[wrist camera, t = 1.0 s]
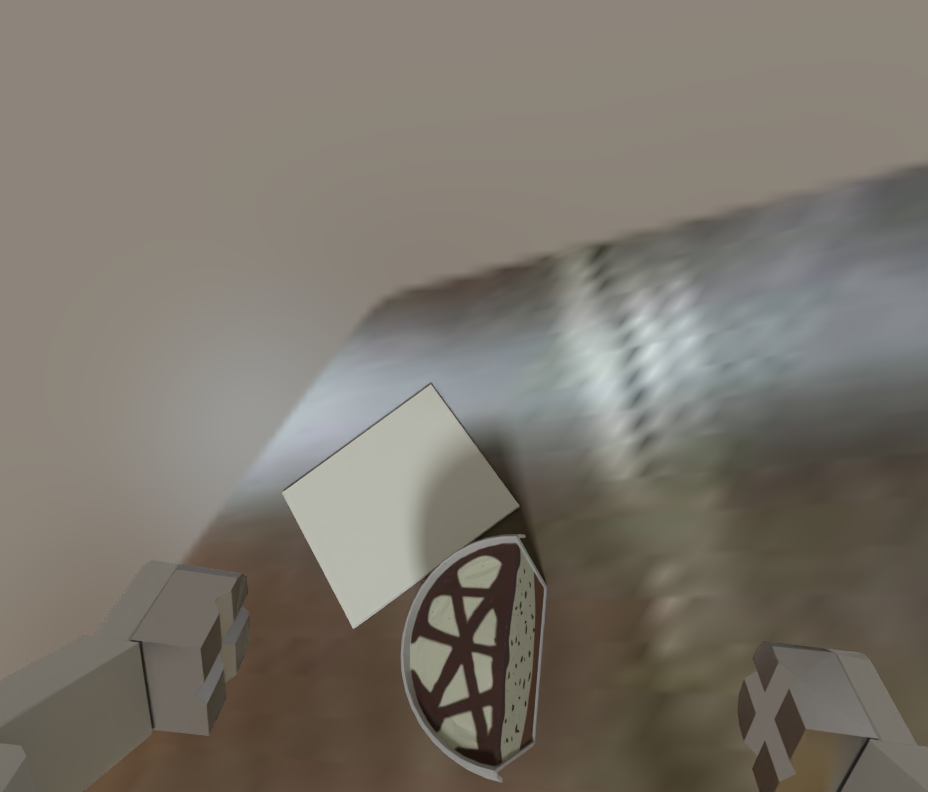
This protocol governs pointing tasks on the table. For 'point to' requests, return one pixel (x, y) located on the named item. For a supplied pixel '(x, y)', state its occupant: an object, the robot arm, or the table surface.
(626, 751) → the table surface
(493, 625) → the food container
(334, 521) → the cream flat rectangular plate
